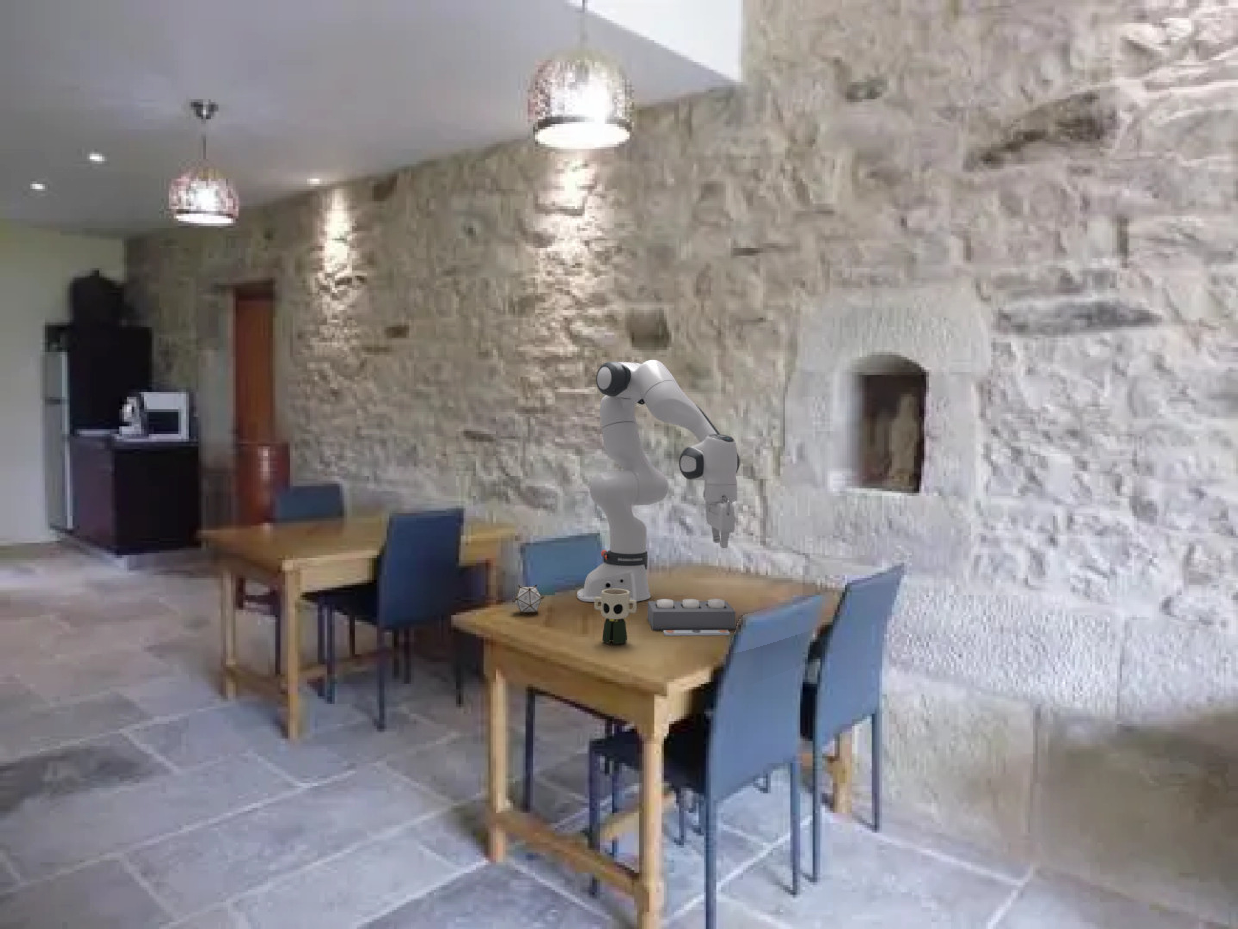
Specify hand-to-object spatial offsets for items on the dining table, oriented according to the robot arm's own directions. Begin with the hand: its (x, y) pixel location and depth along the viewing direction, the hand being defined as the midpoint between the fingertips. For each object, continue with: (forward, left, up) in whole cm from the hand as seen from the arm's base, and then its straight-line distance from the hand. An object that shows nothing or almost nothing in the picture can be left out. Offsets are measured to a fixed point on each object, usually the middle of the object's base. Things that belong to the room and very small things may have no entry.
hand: (720, 545), depth 243 cm
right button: (-1, -1, -18) cm, 18 cm away
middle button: (-8, -1, -18) cm, 20 cm away
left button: (-15, -1, -18) cm, 23 cm away
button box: (-8, -1, -22) cm, 23 cm away
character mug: (-30, -18, -22) cm, 41 cm away
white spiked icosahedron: (-52, +12, -22) cm, 57 cm away
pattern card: (-8, -11, -22) cm, 25 cm away
